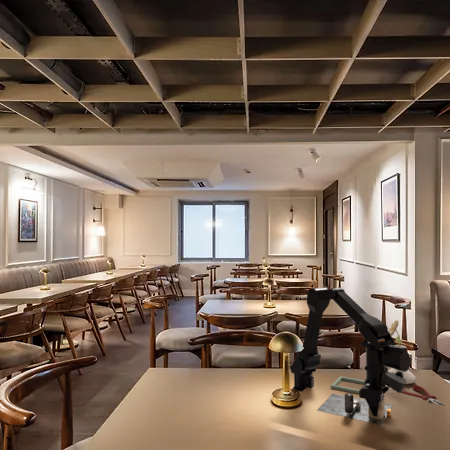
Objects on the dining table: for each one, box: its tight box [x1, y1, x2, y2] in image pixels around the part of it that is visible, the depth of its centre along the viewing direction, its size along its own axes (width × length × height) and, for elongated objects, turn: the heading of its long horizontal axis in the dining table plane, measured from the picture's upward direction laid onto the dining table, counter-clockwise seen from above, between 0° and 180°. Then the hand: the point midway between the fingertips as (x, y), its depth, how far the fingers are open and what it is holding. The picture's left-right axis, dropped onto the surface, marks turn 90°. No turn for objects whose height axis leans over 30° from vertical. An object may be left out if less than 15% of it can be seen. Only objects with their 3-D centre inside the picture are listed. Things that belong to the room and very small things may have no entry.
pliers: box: [392, 384, 447, 407], centre depth 139 cm, size 12×20×3 cm, turn 18°
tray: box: [330, 375, 369, 395], centre depth 149 cm, size 12×12×2 cm
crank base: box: [316, 393, 393, 426], centre depth 130 cm, size 21×17×3 cm
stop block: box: [368, 398, 386, 420], centre depth 124 cm, size 4×4×5 cm
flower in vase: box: [388, 319, 417, 385], centre depth 158 cm, size 13×11×25 cm
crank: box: [344, 392, 361, 414], centre depth 127 cm, size 10×4×6 cm, turn 148°
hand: (376, 413), depth 124 cm, fingers closed on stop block, 4 cm apart
